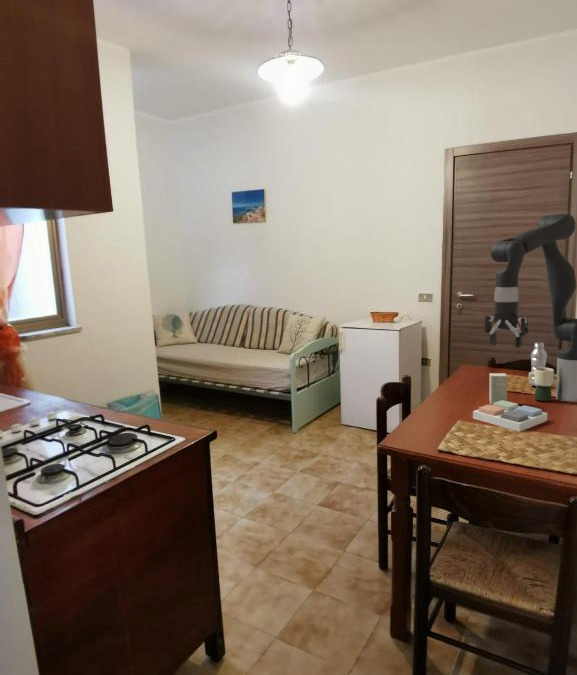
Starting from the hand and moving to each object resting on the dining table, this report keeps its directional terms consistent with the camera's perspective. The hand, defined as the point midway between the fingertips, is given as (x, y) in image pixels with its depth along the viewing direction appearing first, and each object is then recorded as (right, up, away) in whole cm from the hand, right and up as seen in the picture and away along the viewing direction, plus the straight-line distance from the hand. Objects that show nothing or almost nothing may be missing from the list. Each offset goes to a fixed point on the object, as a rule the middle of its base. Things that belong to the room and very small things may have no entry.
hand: (505, 346), depth 168 cm
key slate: (+10, -25, +5) cm, 27 cm away
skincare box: (+9, -24, +26) cm, 36 cm away
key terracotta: (-2, -25, +8) cm, 26 cm away
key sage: (+5, -24, +13) cm, 27 cm away
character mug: (+28, -23, +28) cm, 45 cm away
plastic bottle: (+35, -19, +47) cm, 62 cm away
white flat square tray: (+4, -27, +7) cm, 28 cm away
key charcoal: (+3, -26, 0) cm, 26 cm away
